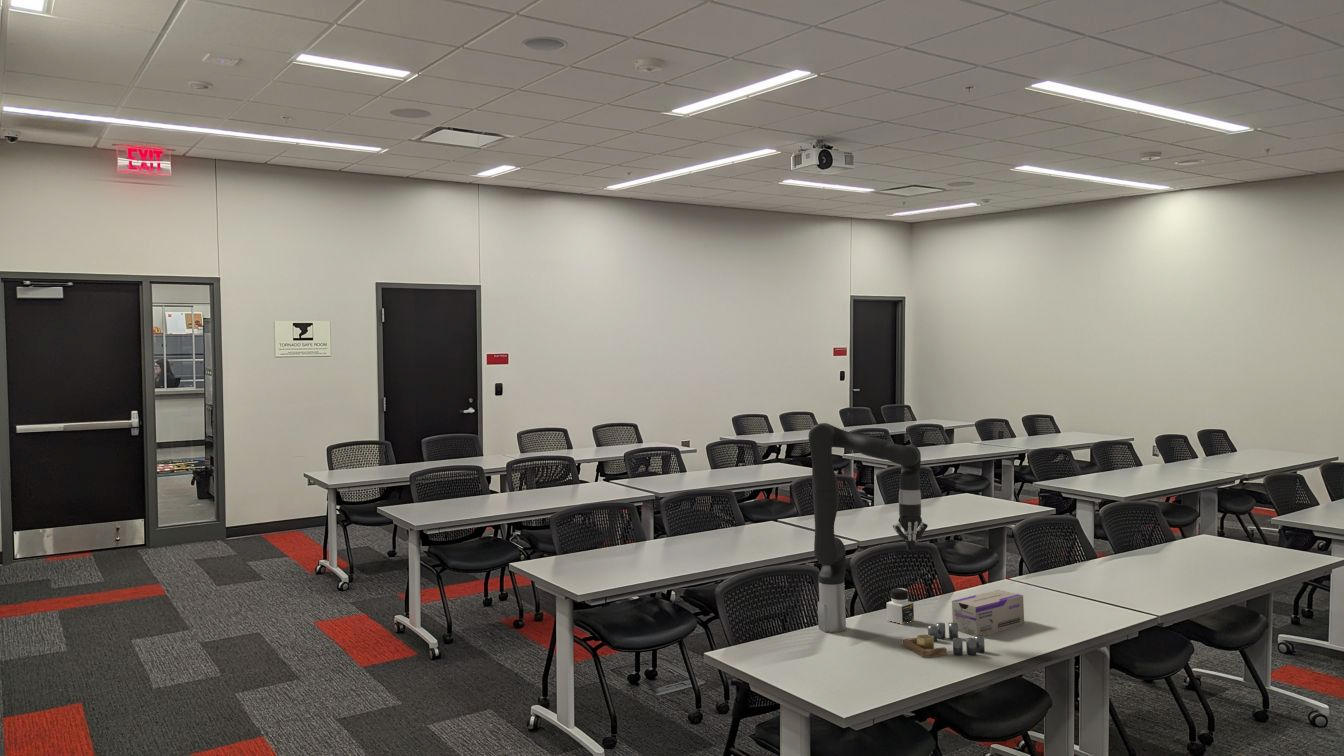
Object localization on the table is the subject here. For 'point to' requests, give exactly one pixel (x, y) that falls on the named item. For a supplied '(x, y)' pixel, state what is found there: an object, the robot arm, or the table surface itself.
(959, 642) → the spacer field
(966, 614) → the surgical sutures box
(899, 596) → the medicine bottle
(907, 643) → the walnut bay
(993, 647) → the table surface
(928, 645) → the brass nut
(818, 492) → the robot arm
